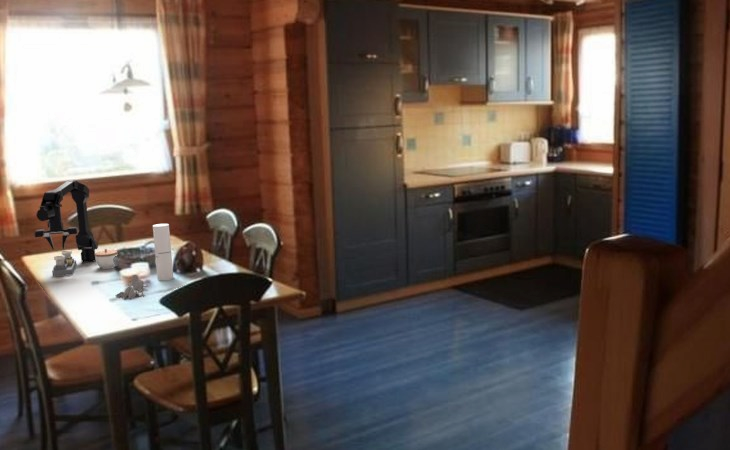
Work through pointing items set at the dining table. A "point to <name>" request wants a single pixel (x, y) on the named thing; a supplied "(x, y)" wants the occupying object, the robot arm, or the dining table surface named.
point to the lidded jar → (105, 258)
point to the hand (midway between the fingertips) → (58, 249)
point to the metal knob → (69, 261)
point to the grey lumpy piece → (133, 289)
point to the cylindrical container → (163, 251)
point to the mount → (64, 269)
